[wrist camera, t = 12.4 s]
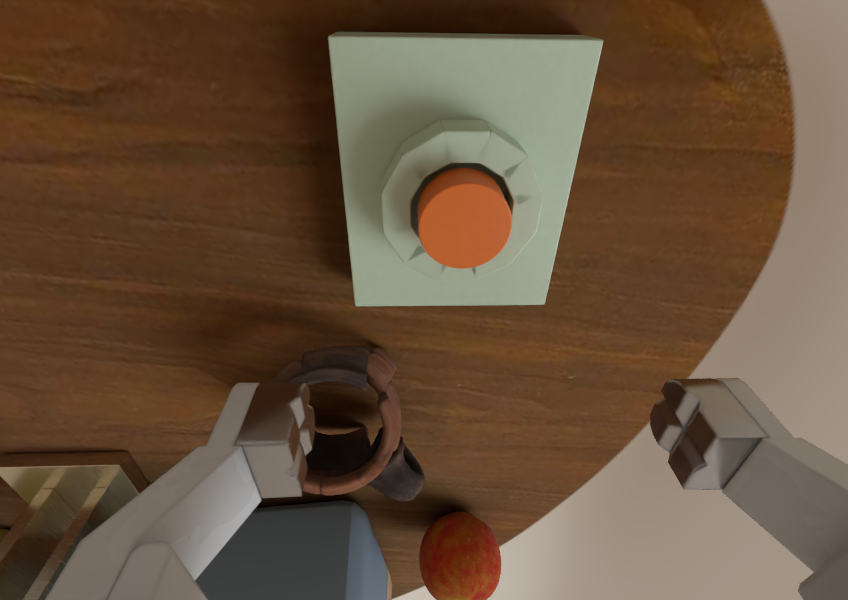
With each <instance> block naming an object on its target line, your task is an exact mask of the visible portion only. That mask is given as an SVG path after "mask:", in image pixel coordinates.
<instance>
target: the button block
mask: <svg viewBox="0 0 848 600" xmlns="http://www.w3.org/2000/svg"><path fill="white" fill-rule="evenodd" d="M328 45H329V55H330V64H331V74H332V84H333V94H334V104H335V114H336V124H337V134H338V143H339V153H340V163H341V173H342V183H343V193H344V203H345V212H346V222H347V232H348V242H349V252H350V262H351V272H352V282H353V291H354V301H355V306H449V305H544V304H545V300H546V296H547V291H548V287H549V282H550V278H551V273H552V269H553V264H554V260H555V255H556V251H557V246H558V242H559V237H560V233H561V228H562V224H563V219H564V215H565V211H566V206H567V202H568V197H569V193H570V188H571V184H572V179H573V175H574V170H575V166H576V161H577V157H578V152H579V148H580V143H581V139H582V134H583V130H584V125H585V121H586V116H587V112H588V107H589V103H590V98H591V94H592V90H593V85H594V81H595V76H596V72H597V67H598V63H599V58H600V54H601V49H602V45H603V40H602V39H598V38H594V37H589V36H585V35H543V34H471V33H399V32H336V33H334V34H332V35H330V36H328ZM463 167H464V168H473V169H477V170H480V171H482V172H484V173H486V174H487V175H489V176H490V177H491V178H493V179H494V180H495V182H496V183H497V184H498V186H499V187H500V189H501V191H502V193H503V195H504V197H505V199H506V201H507V204H508V206H509V208H510V211H511V215H512V230H511V234H510V237H509V239H508V241H507V243H506V245H505V246H504V248H503V249H502V250H501V252H500V253H499V254H498V255H496V256H495V257H494V258H493V259H491V260H490V261H488V262H486V263H484V264H482V265H480V266H476V267H472V268H464V269H460V268H452V267H448V266H445V265H443V264H440V263H439V262H437V261H435V260H434V259H433V258H432V257H430V256H429V255H428V253H427V252H426V251H425V249H424V248H423V246H422V244H421V241H420V238H419V233H418V214H417V209H418V202H419V198H420V196H421V194H422V192H423V190H424V188H425V187H426V185H427V184H428V183H429V182H430V181H431V180H432V179H433V178H435V177H436V176H437V175H439V174H441V173H443V172H445V171H447V170H450V169H454V168H463Z"/></svg>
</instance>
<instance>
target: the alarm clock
mask: <svg viewBox="0 0 848 600" xmlns="http://www.w3.org/2000/svg"><path fill="white" fill-rule="evenodd" d="M195 581H196V583H197V584H198V585H199V587H200V588H201V590H202V591H203V592H204V594H205V595H206V597H207V598H208V600H391V597H392V583H391V579H390V574H389V571H388V569H387V566H386V563H385V561H384V558H383V555H382V553H381V550H380V548H379V545H378V542H377V540H376V537H375V534H374V532H373V529H372V526H371V524H370V521H369V519H368V516H367V514H366V513H365V512H364V511H363V509H362V508H361V507H360V506H359V505H357V504H356V503H355V502H351V501H345V500H340V501H329V502H318V503H307V504H296V505H285V506H274V507H264V508H255V509H254V510H253V512H252V513H251V514H250V515H249V516H248V518H247V519H246V520H245V521H244V522H243V524H242V525H241V526H240V527H239V528H238V530H237V531H236V532H235V533H234V534H233V536H232V537H231V538H230V539H229V540H228V542H227V543H226V544H225V545H224V546H223V548H222V549H221V550H220V551H219V552H218V554H217V555H216V556H215V557H214V558H213V560H212V561H211V562H210V563H209V564H208V566H207V567H206V568H205V569H204V570H203V572H202V573H201V574H200V575H199V576H198V578H197V579H196V580H195Z"/></svg>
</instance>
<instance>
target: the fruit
mask: <svg viewBox="0 0 848 600" xmlns="http://www.w3.org/2000/svg"><path fill="white" fill-rule="evenodd" d="M419 558H420V570H421V574H422V578H423V581H424V583H425V585H426V587H427V589H428V591H429V592H430V593H431V595H432V596H433V597H434V598H435V599H437V600H486V599H488V598H489V597H490V596H491V595H492V593H493V592H494V591H495V589H496V587H497V585H498V582H499V578H500V573H501V557H500V550H499V546H498V543H497V540H496V538H495V536H494V534H493V532H492V531H491V530H490V528H489V527H488V526H487V525H486V524H485V523H484V522H482V521H481V520H479V519H477V518H476V517H474V516H473V515H471V514H469V513H466V512H458V511H457V512H453V513H450V514H447V515H445V516H443V517H441V518H440V519H438V520H437V521H435V522H434V523H433V524H432V525H431V526H430V527H429V528H428V530H427V531H426V533H425V535H424V537H423V540H422V543H421V547H420V557H419Z"/></svg>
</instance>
